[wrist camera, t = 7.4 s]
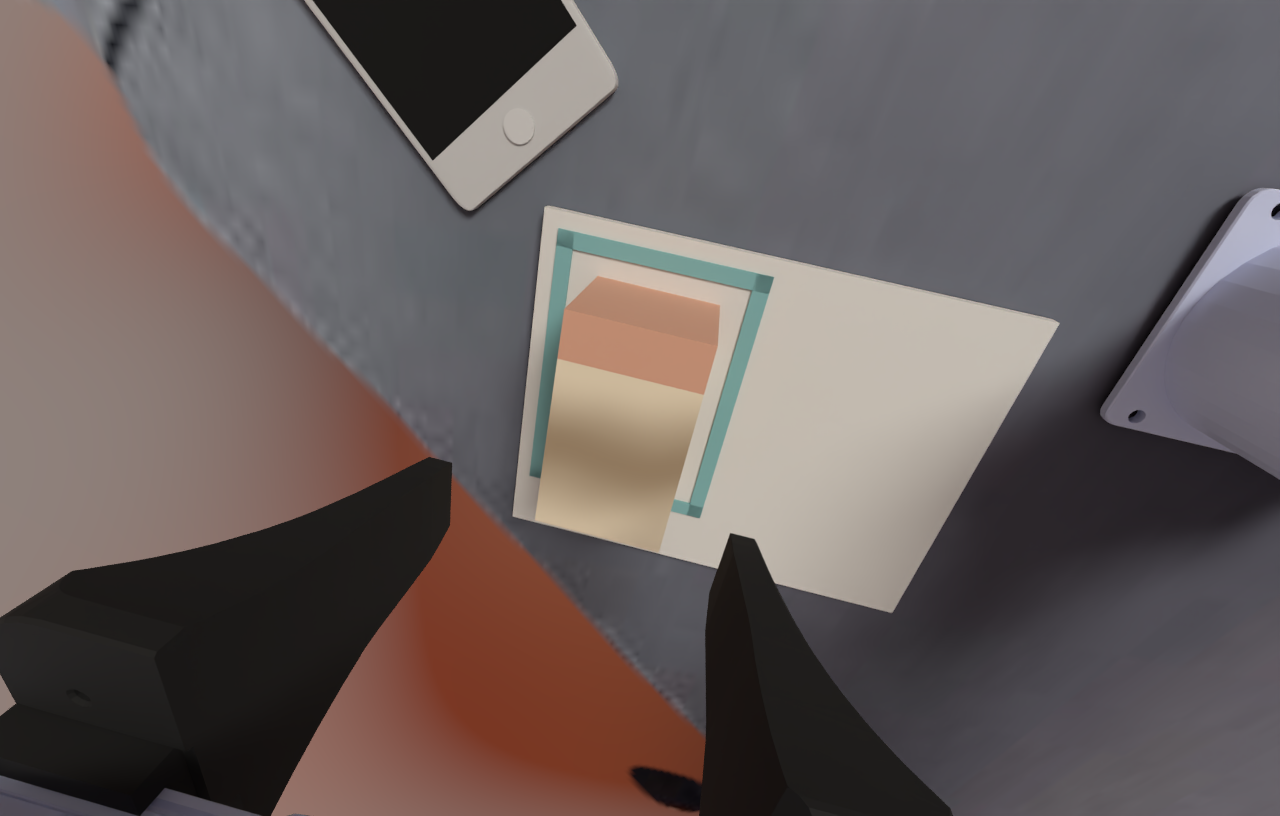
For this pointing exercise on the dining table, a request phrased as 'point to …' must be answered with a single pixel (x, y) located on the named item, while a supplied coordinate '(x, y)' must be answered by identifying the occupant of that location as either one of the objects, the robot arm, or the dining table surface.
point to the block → (624, 409)
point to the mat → (800, 403)
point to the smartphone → (475, 79)
